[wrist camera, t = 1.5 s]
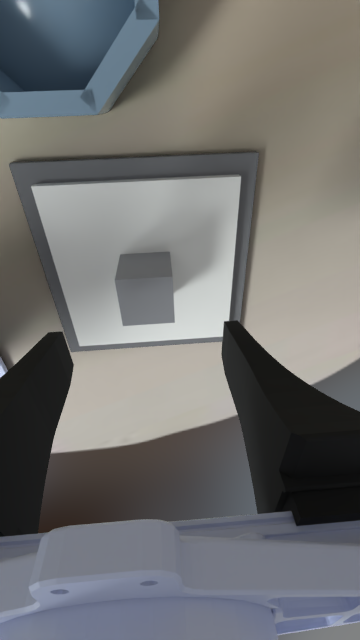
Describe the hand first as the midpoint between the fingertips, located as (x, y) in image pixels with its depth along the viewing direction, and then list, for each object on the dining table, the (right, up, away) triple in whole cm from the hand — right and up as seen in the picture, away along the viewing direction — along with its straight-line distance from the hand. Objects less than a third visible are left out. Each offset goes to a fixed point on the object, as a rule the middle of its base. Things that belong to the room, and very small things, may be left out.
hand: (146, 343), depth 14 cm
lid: (-1, +4, +6) cm, 7 cm away
